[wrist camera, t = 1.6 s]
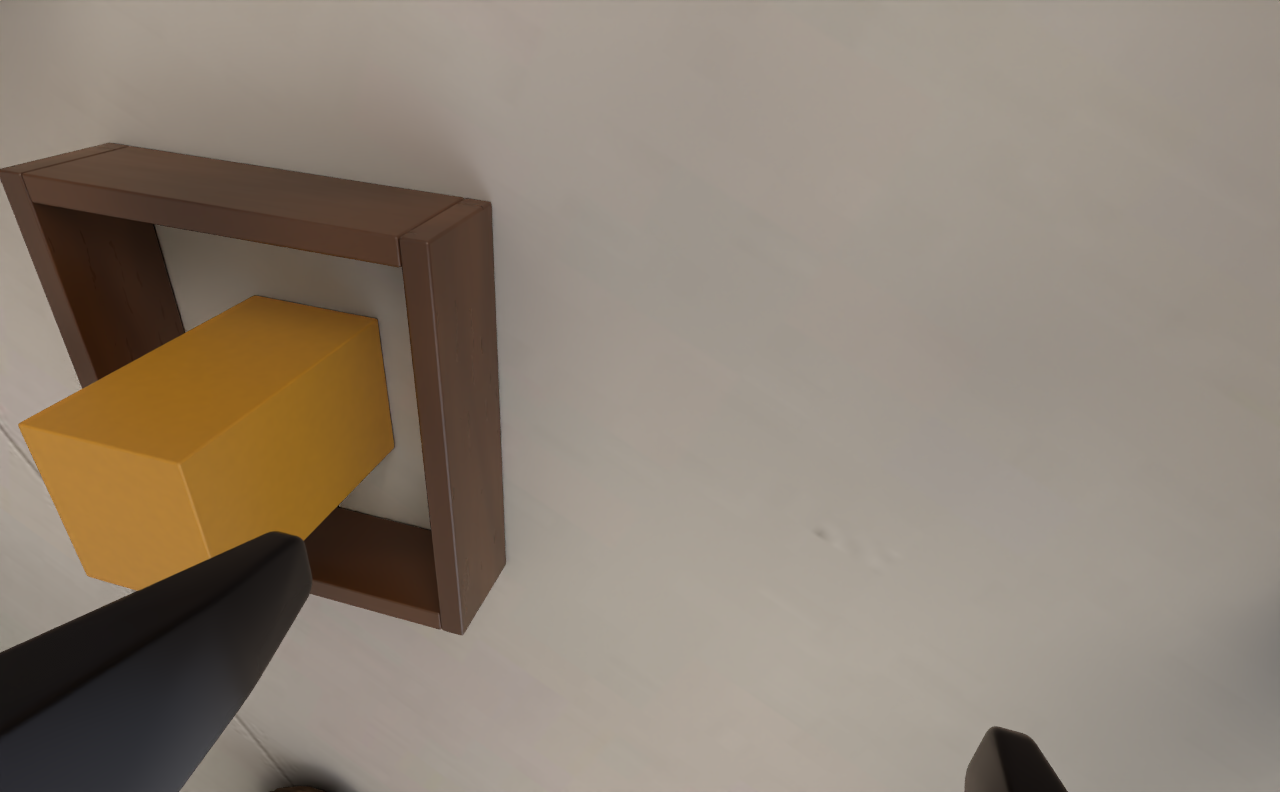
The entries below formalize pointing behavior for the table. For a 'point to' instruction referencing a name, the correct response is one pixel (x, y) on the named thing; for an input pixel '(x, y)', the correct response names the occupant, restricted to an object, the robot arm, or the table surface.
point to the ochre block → (216, 439)
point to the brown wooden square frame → (322, 223)
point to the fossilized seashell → (298, 789)
